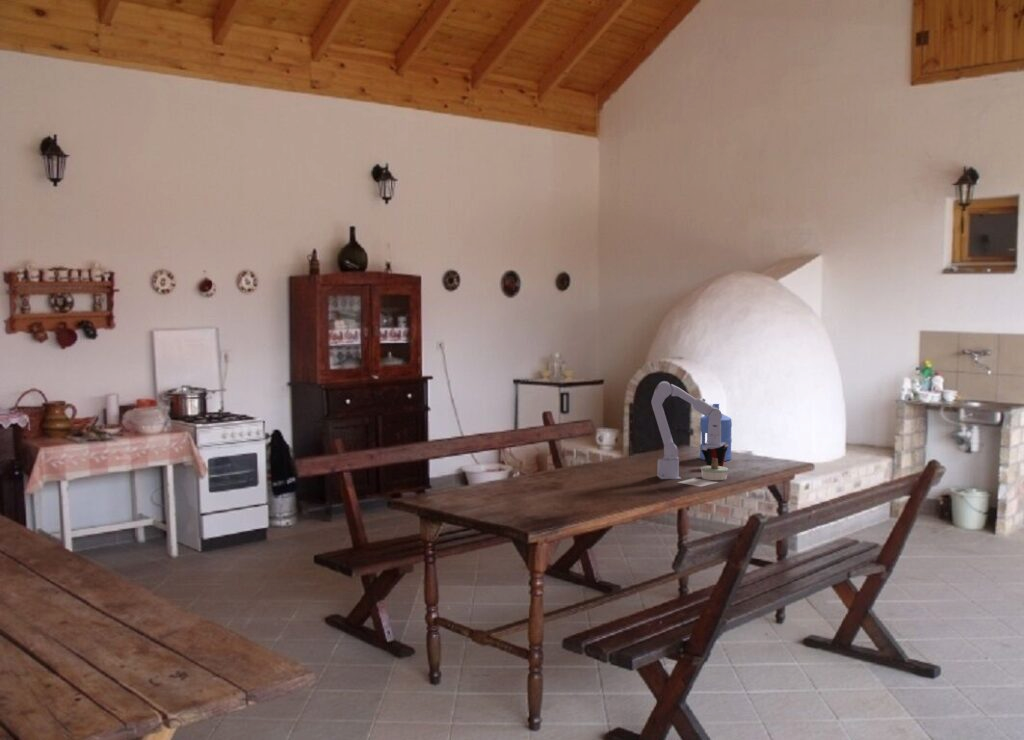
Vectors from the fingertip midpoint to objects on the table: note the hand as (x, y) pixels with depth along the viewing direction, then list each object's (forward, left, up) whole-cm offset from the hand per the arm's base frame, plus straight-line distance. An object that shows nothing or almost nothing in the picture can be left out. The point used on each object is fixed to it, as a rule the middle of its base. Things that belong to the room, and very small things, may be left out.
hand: (714, 464), depth 419 cm
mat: (-10, -9, -7) cm, 15 cm away
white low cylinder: (0, 0, -7) cm, 7 cm away
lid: (0, 0, -3) cm, 4 cm away
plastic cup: (+9, +26, -7) cm, 28 cm away
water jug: (+15, +49, -7) cm, 52 cm away
